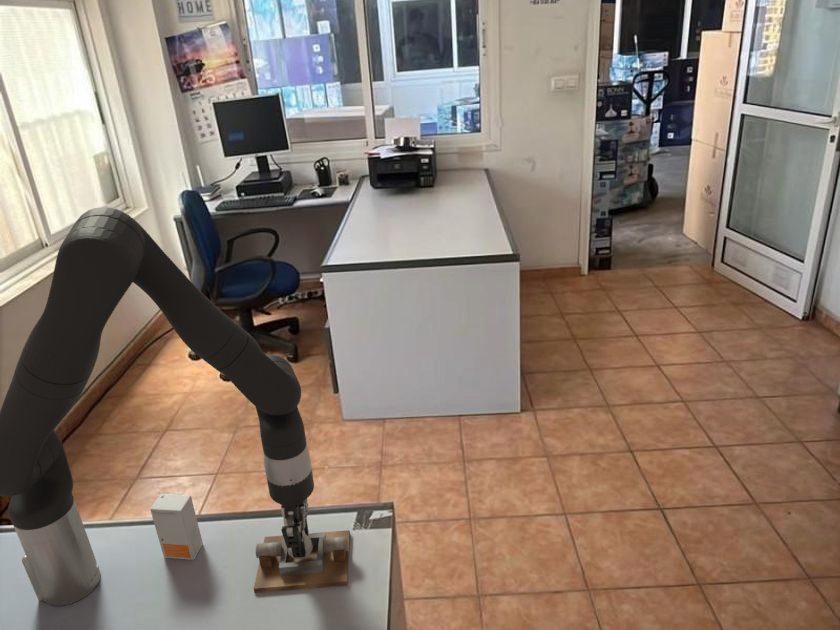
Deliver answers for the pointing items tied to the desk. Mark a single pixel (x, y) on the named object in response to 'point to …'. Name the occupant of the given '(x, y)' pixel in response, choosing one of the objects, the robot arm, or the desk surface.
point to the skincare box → (176, 526)
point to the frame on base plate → (303, 563)
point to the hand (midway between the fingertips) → (301, 545)
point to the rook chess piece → (307, 546)
